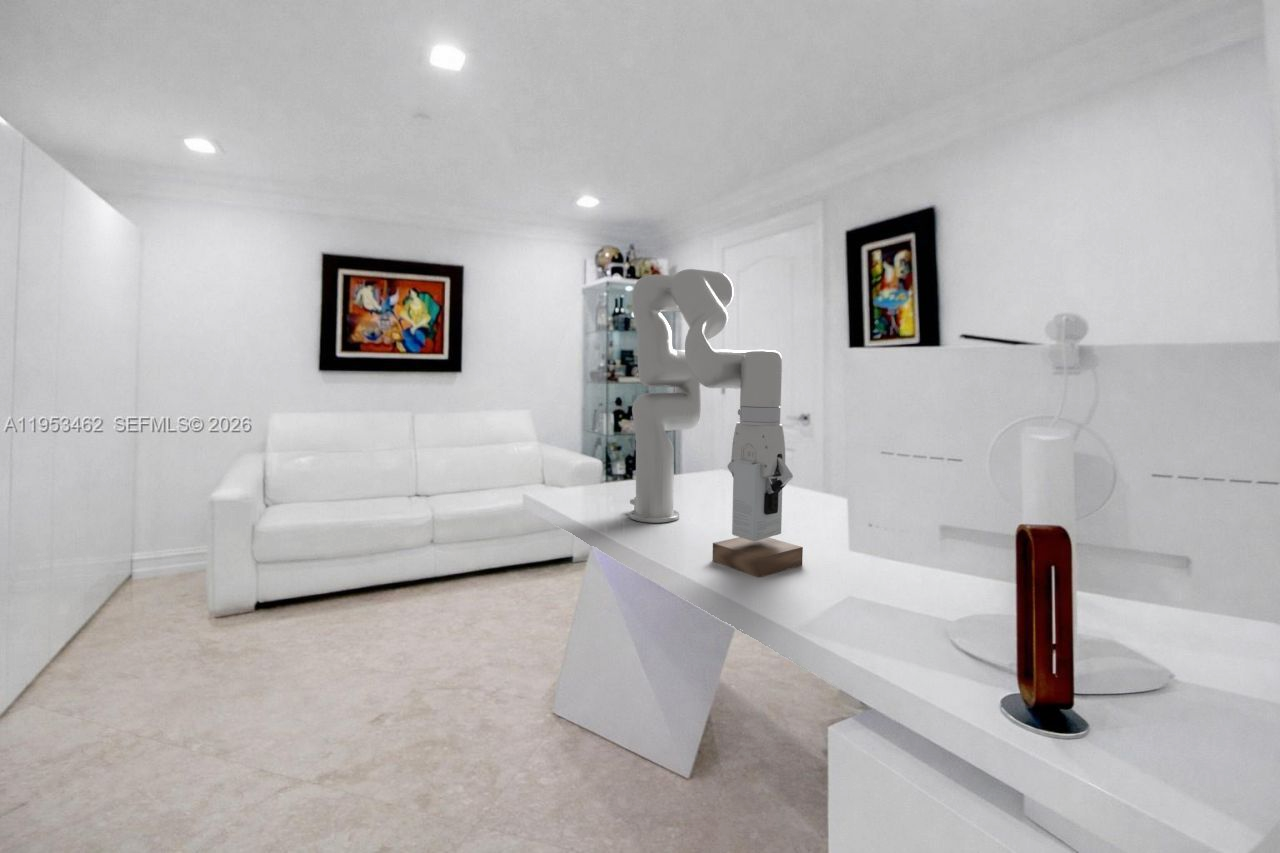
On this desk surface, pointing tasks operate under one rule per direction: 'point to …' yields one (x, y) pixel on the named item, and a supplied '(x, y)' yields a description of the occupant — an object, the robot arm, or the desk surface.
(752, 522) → the skincare box
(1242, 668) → the desk surface
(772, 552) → the walnut block
